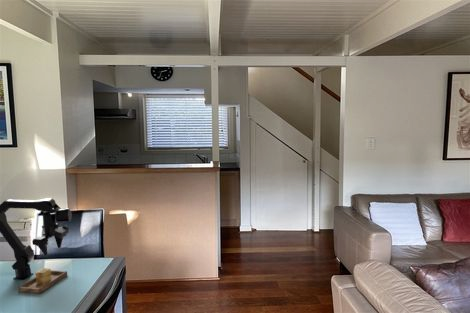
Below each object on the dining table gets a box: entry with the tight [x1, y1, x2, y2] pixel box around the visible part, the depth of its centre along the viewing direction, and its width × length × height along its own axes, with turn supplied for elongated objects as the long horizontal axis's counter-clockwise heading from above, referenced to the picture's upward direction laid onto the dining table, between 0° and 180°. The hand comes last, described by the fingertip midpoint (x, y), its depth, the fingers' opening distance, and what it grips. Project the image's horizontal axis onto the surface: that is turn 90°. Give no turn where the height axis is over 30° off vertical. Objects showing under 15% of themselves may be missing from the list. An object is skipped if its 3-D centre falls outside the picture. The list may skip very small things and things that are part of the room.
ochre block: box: [35, 267, 51, 285], centre depth 161 cm, size 4×4×6 cm
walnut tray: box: [17, 269, 68, 295], centre depth 161 cm, size 12×18×2 cm, turn 169°
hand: (52, 251), depth 171 cm, fingers open, 9 cm apart
